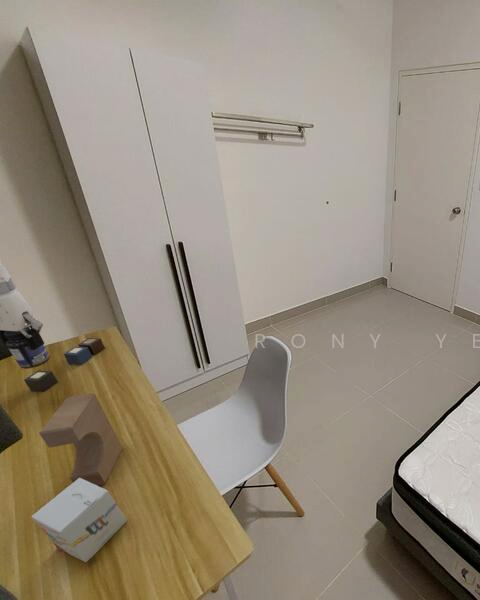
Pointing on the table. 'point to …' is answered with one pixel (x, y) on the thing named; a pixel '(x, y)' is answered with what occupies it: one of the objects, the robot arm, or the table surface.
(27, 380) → the block
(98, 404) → the decorative block
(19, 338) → the pill bottle
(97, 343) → the block
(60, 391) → the table surface
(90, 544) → the ink box
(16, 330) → the robot arm
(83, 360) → the block
